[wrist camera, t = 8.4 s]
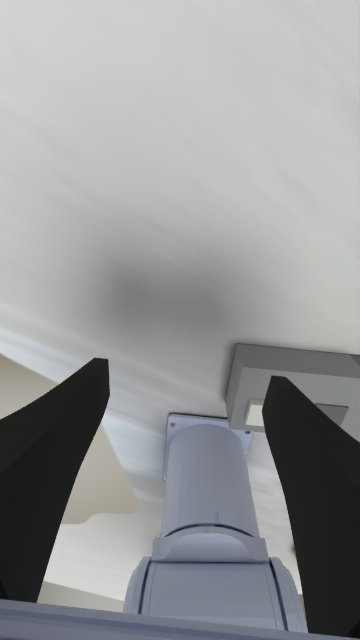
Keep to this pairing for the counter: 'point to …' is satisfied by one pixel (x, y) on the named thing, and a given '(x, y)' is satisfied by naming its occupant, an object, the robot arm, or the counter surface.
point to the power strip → (305, 373)
